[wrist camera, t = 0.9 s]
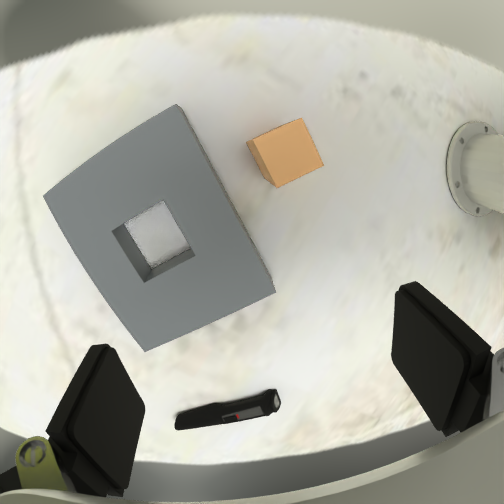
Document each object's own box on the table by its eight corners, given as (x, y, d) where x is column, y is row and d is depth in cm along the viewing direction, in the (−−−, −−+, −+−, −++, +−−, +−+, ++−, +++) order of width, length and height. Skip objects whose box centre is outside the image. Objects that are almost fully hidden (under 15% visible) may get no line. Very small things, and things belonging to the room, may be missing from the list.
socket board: (181, 108, 27) (176, 104, 24) (271, 277, 34) (276, 292, 30) (58, 190, 28) (42, 195, 25) (150, 334, 35) (144, 352, 32)
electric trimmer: (171, 406, 40) (169, 422, 37) (275, 385, 39) (278, 401, 36) (182, 421, 41) (180, 437, 38) (281, 401, 41) (284, 417, 38)
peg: (282, 125, 28) (301, 117, 21) (299, 160, 30) (324, 165, 22) (246, 142, 29) (252, 140, 21) (264, 177, 30) (277, 188, 23)
